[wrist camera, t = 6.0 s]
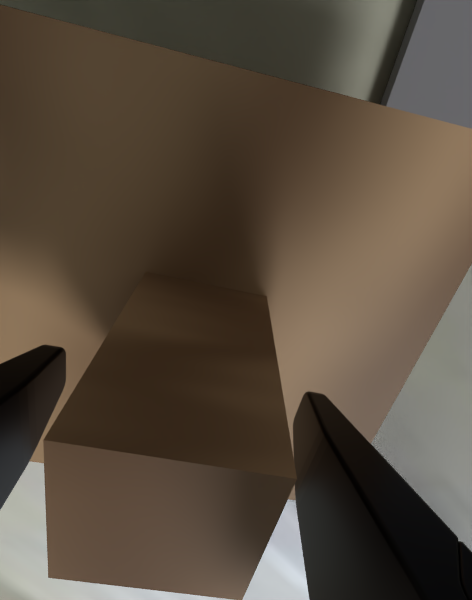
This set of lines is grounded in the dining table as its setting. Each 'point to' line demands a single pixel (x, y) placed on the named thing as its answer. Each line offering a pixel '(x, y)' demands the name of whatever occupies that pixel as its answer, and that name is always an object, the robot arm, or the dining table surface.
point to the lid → (206, 286)
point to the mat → (435, 63)
